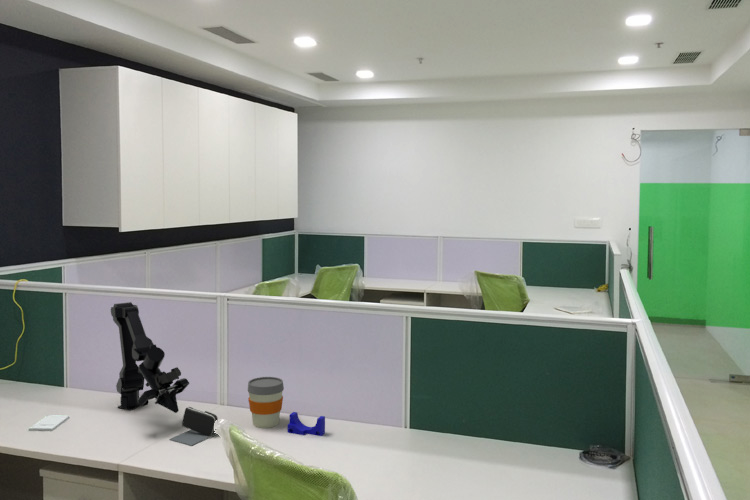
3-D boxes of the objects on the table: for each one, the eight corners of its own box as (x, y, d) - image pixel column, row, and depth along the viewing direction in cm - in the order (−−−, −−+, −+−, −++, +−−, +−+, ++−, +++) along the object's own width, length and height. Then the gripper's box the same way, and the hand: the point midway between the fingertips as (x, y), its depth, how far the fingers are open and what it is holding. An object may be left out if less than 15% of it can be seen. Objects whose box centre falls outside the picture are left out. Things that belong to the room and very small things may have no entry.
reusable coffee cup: (272, 431, 225) (272, 389, 224) (240, 426, 230) (240, 384, 228) (290, 419, 237) (290, 379, 235) (260, 414, 241) (259, 374, 240)
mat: (169, 439, 217) (169, 438, 217) (200, 426, 230) (200, 425, 230) (191, 446, 213) (191, 445, 213) (221, 431, 225) (221, 431, 225)
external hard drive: (69, 419, 237) (52, 432, 224) (47, 419, 237) (28, 432, 224) (69, 415, 237) (51, 428, 224) (46, 415, 237) (28, 427, 224)
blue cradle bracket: (287, 433, 225) (287, 416, 224) (293, 428, 229) (293, 411, 228) (319, 438, 220) (319, 420, 220) (325, 433, 225) (325, 416, 224)
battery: (186, 423, 226) (216, 433, 223) (180, 426, 222) (210, 437, 220) (190, 404, 225) (220, 414, 223) (184, 407, 222) (214, 417, 219)
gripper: (142, 368, 217) (167, 406, 213) (185, 355, 233) (208, 391, 229) (127, 387, 222) (151, 425, 218) (169, 374, 238) (192, 409, 234)
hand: (177, 411), depth 224 cm, fingers closed
